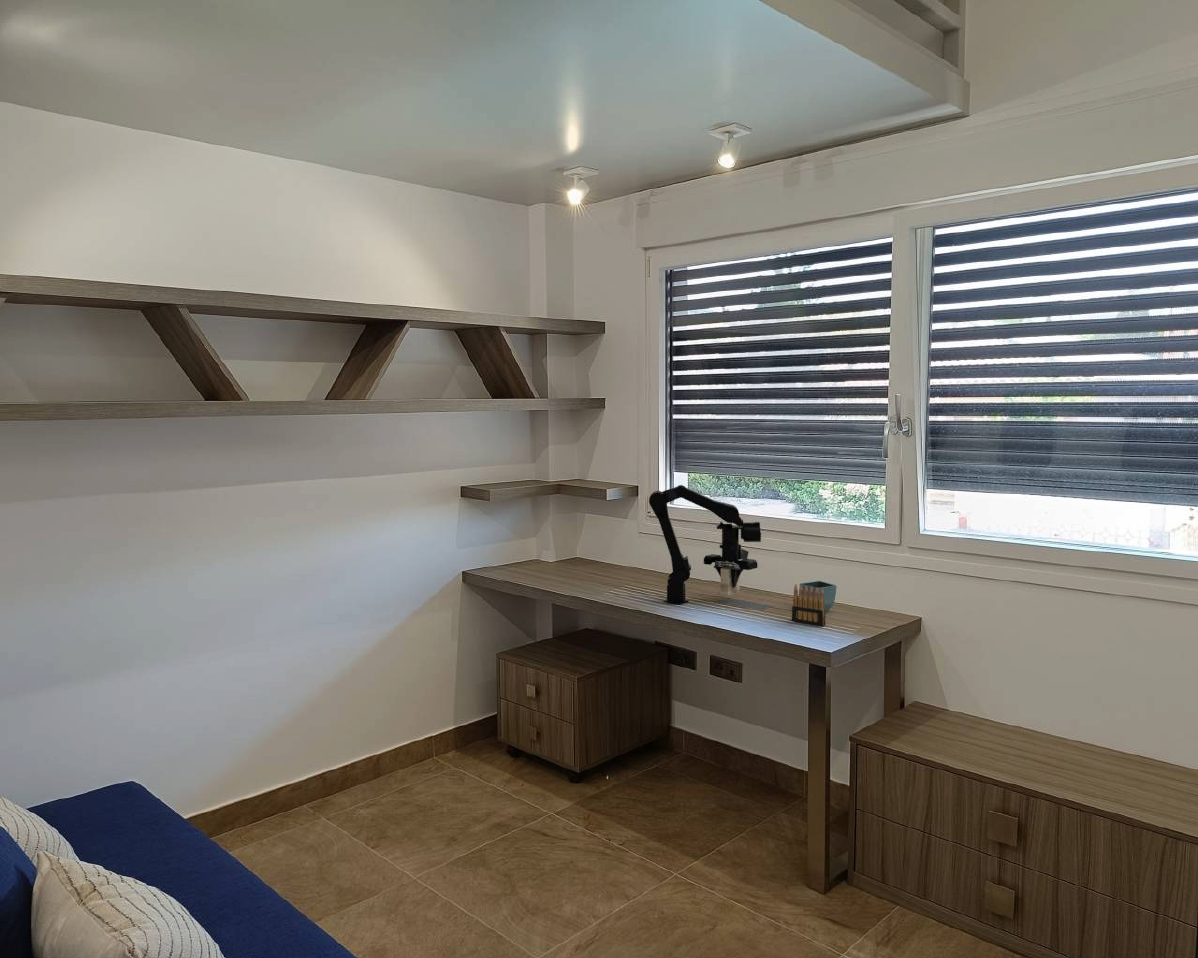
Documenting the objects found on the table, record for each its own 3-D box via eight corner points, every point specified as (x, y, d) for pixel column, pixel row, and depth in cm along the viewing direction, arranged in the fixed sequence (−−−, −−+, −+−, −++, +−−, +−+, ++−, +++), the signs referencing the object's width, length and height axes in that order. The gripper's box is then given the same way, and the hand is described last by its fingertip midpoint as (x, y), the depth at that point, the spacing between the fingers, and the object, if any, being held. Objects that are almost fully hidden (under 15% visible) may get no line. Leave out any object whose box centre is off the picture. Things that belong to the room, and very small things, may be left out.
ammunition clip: (791, 621, 288) (791, 584, 287) (794, 620, 290) (794, 583, 289) (822, 626, 282) (823, 588, 281) (825, 625, 283) (826, 587, 282)
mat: (761, 611, 303) (761, 610, 303) (716, 603, 315) (716, 602, 315) (774, 606, 309) (774, 605, 309) (729, 599, 321) (729, 598, 321)
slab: (727, 595, 312) (728, 569, 311) (720, 594, 314) (720, 568, 313) (739, 591, 317) (739, 566, 316) (732, 590, 319) (732, 565, 318)
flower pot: (816, 615, 296) (816, 588, 296) (798, 609, 304) (798, 583, 303) (837, 612, 300) (837, 585, 300) (819, 606, 308) (819, 580, 307)
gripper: (766, 541, 314) (765, 586, 315) (720, 536, 326) (720, 579, 327) (748, 545, 305) (748, 591, 307) (702, 540, 318) (702, 584, 319)
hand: (730, 586), depth 315 cm, fingers closed on slab, 3 cm apart
